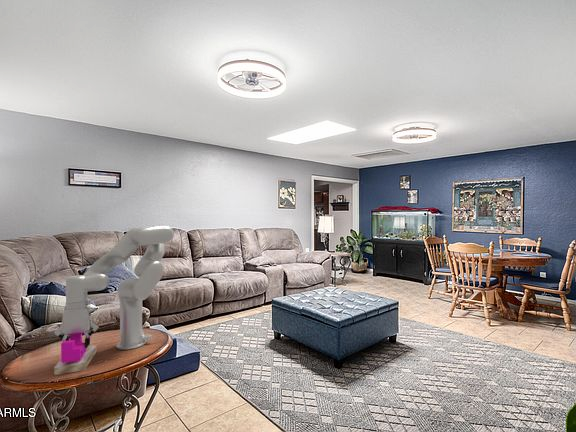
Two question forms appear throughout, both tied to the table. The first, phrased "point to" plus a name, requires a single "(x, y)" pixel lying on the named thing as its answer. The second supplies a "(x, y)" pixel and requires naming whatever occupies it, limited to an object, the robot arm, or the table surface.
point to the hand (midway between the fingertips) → (77, 347)
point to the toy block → (72, 348)
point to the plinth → (76, 363)
